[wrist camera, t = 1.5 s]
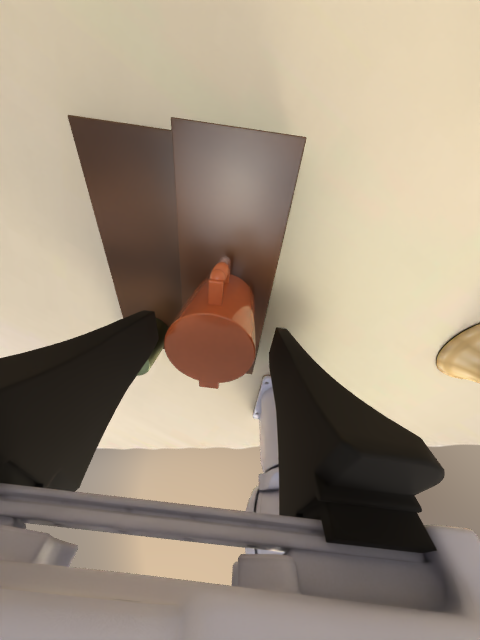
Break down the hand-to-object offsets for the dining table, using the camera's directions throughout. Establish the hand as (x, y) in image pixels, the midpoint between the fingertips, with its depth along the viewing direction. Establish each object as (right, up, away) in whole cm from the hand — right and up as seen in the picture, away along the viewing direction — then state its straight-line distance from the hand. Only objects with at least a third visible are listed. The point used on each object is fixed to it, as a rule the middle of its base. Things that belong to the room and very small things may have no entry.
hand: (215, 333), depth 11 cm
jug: (0, +2, +4) cm, 4 cm away
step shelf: (-3, +5, +6) cm, 8 cm away
